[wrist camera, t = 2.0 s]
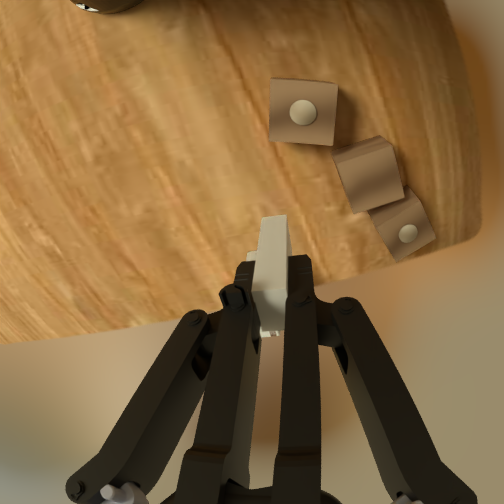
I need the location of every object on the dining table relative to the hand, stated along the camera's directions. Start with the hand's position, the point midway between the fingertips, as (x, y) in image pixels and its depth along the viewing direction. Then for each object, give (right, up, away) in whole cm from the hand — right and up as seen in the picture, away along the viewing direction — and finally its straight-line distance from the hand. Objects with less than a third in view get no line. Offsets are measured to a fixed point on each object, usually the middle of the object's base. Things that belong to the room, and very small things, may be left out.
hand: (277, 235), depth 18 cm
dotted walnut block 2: (+20, +4, +21) cm, 29 cm away
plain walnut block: (+13, +10, +17) cm, 24 cm away
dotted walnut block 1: (+4, +16, +14) cm, 22 cm away
